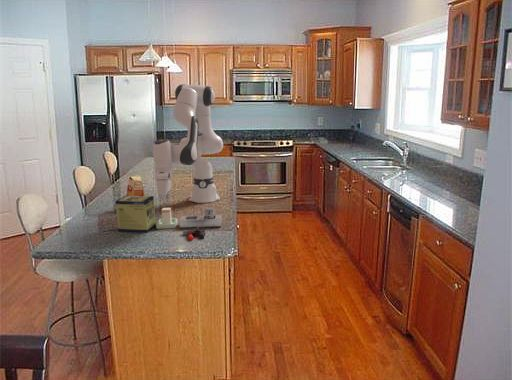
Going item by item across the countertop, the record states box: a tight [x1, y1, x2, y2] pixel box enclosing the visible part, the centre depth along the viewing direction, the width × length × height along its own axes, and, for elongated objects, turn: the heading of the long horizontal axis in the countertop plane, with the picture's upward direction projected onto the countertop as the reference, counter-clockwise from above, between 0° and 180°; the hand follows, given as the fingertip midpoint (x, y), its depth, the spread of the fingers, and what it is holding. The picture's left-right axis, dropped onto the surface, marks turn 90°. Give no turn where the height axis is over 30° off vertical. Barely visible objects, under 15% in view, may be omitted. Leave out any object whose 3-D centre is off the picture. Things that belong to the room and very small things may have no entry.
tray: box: [155, 217, 179, 230], centre depth 219 cm, size 10×9×2 cm
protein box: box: [115, 195, 157, 234], centre depth 213 cm, size 10×16×16 cm
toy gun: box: [182, 225, 206, 241], centre depth 200 cm, size 10×12×5 cm
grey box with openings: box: [178, 206, 222, 229], centre depth 214 cm, size 14×20×8 cm
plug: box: [160, 207, 173, 224], centre depth 218 cm, size 4×4×8 cm
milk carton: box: [126, 174, 146, 196], centre depth 251 cm, size 9×9×20 cm
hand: (165, 200), depth 216 cm, fingers open, 8 cm apart
